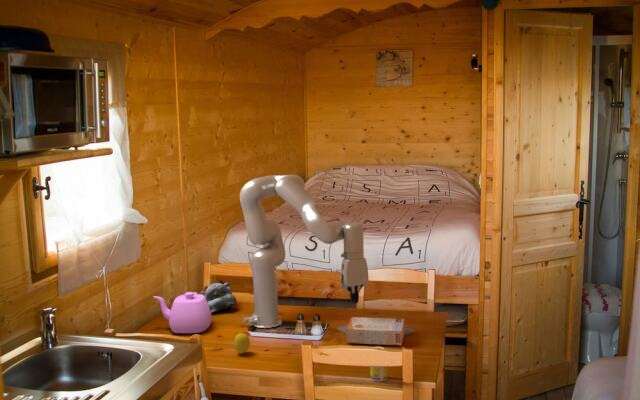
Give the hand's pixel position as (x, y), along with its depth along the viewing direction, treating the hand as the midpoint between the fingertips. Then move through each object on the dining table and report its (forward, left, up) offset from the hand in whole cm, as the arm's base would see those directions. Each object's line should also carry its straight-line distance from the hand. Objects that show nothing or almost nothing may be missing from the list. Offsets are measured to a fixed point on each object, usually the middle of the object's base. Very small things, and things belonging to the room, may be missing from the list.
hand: (354, 302), depth 266 cm
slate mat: (+10, 0, -13) cm, 16 cm away
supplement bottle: (-15, -40, -14) cm, 45 cm away
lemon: (-45, +4, -13) cm, 47 cm away
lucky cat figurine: (-34, +59, -14) cm, 69 cm away
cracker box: (-4, -2, -10) cm, 11 cm away
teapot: (-53, +41, -14) cm, 68 cm away
